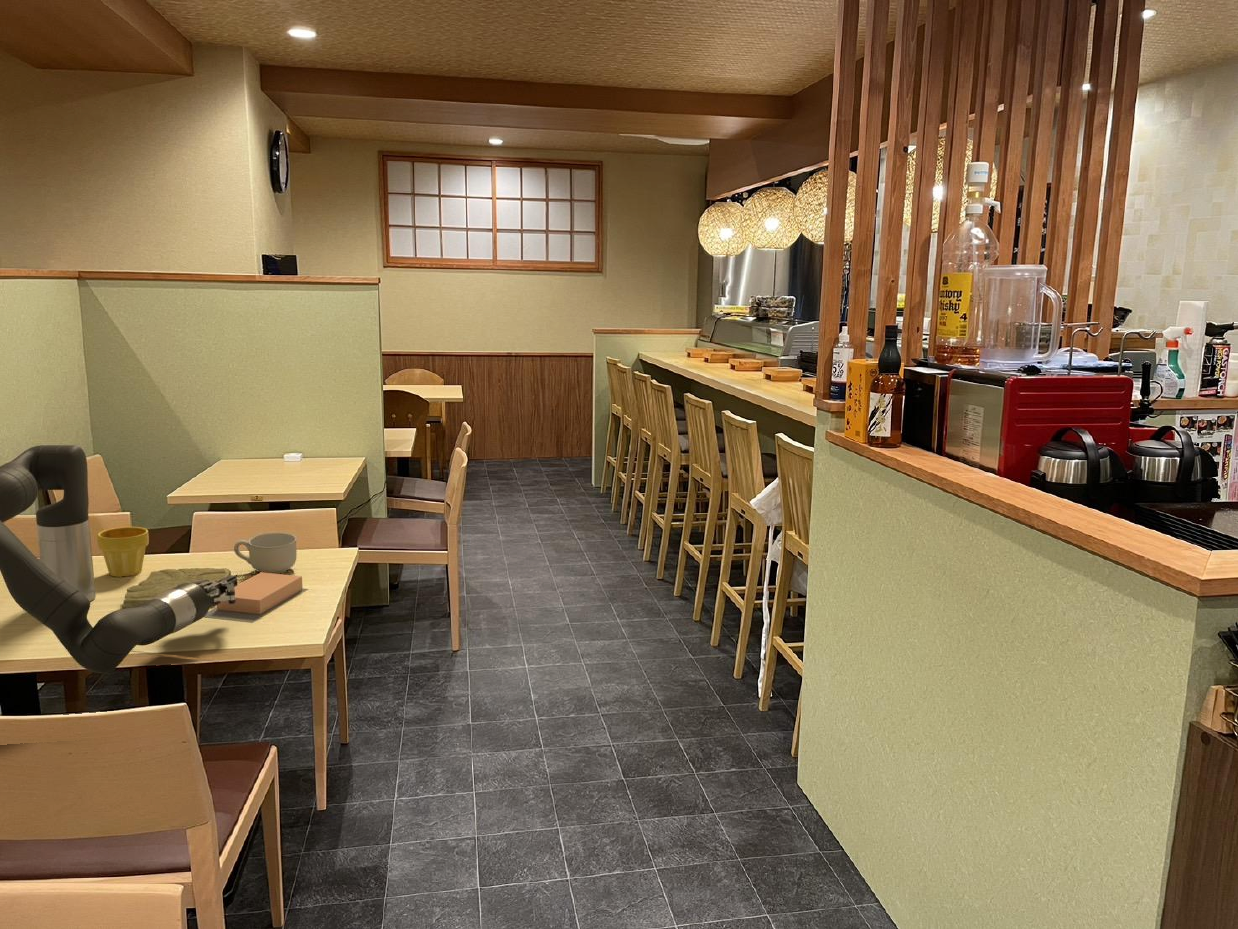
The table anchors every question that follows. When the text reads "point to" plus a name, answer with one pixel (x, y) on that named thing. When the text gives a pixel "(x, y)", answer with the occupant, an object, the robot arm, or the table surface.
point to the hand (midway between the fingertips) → (233, 580)
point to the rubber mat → (245, 616)
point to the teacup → (270, 552)
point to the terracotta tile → (262, 592)
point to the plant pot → (123, 549)
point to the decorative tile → (168, 583)
